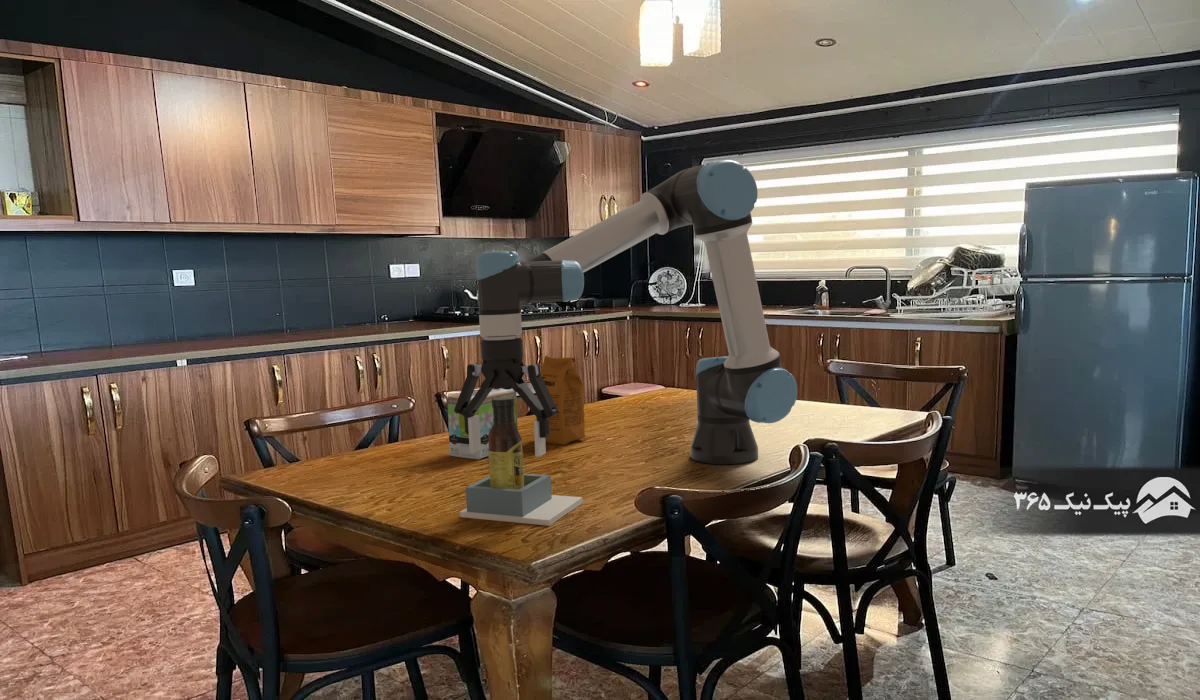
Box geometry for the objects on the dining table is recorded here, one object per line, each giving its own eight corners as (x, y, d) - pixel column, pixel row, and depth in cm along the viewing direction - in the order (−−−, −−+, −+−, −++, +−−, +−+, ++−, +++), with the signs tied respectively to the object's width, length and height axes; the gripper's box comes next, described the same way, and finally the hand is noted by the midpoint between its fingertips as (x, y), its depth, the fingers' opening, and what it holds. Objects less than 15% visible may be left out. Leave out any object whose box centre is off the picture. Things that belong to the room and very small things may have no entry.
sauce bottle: (523, 509, 143) (517, 400, 141) (488, 510, 143) (482, 401, 141) (527, 499, 149) (521, 394, 147) (493, 500, 150) (488, 396, 148)
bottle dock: (582, 502, 149) (581, 474, 149) (549, 525, 136) (548, 494, 136) (499, 495, 156) (497, 468, 156) (460, 517, 143) (458, 487, 143)
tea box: (480, 460, 186) (477, 398, 185) (448, 456, 192) (445, 396, 190) (520, 447, 199) (517, 388, 198) (489, 444, 204) (485, 387, 203)
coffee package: (561, 434, 213) (557, 352, 211) (590, 440, 203) (587, 355, 201) (531, 440, 207) (526, 356, 204) (559, 447, 197) (555, 359, 195)
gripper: (572, 335, 142) (578, 452, 144) (454, 335, 151) (460, 445, 153) (554, 339, 135) (560, 461, 137) (431, 339, 144) (438, 454, 146)
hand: (507, 453), depth 145 cm, fingers open, 13 cm apart
